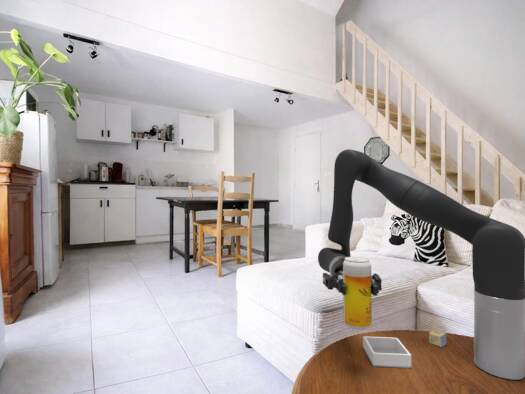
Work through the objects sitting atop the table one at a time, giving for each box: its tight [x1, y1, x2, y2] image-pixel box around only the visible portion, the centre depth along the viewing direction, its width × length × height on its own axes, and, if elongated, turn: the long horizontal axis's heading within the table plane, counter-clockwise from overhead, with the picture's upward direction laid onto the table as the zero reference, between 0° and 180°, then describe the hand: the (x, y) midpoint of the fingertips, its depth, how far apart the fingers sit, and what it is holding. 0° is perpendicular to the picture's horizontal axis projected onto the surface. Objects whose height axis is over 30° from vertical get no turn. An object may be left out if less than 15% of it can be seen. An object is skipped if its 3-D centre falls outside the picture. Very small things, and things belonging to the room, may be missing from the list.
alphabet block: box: [428, 329, 447, 348], centre depth 80 cm, size 3×3×3 cm
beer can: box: [342, 256, 373, 331], centre depth 67 cm, size 6×6×15 cm
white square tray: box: [362, 335, 412, 369], centre depth 73 cm, size 9×9×3 cm
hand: (360, 290), depth 65 cm, fingers closed on beer can, 6 cm apart
